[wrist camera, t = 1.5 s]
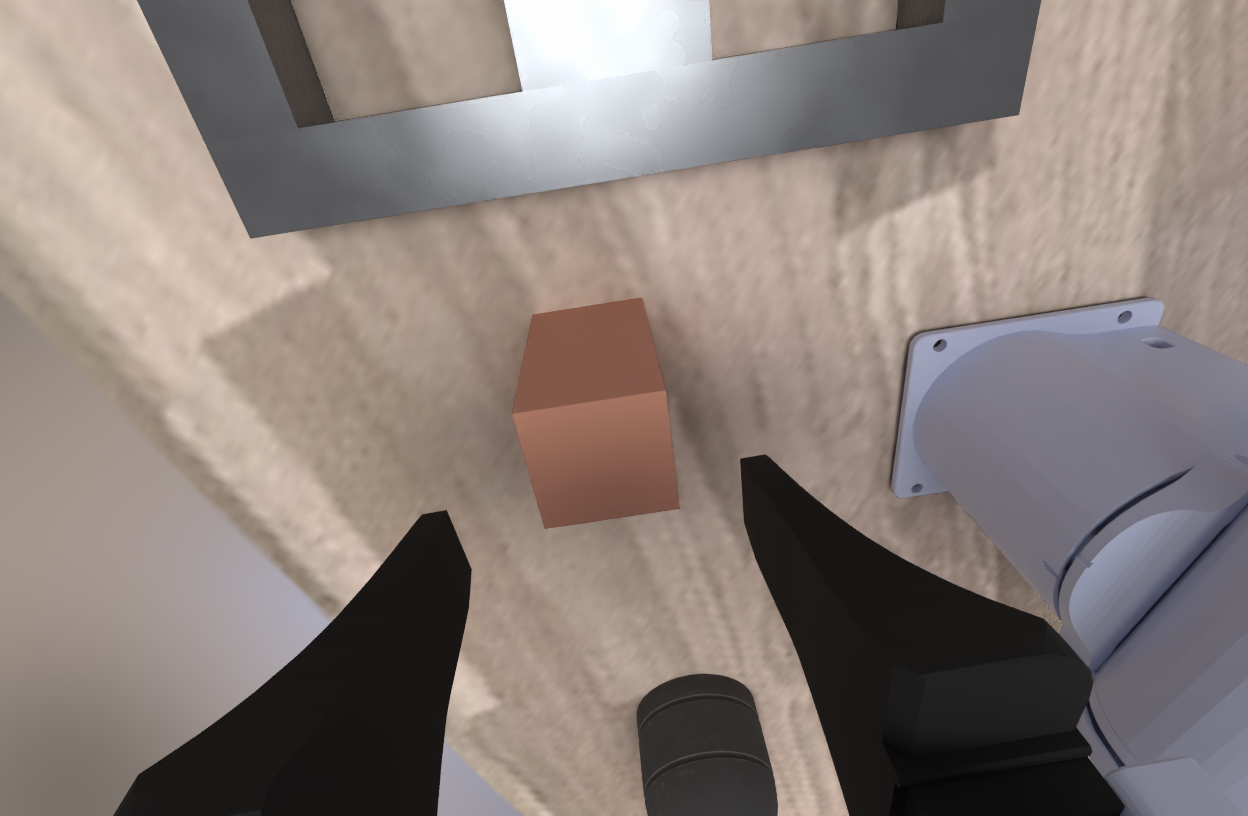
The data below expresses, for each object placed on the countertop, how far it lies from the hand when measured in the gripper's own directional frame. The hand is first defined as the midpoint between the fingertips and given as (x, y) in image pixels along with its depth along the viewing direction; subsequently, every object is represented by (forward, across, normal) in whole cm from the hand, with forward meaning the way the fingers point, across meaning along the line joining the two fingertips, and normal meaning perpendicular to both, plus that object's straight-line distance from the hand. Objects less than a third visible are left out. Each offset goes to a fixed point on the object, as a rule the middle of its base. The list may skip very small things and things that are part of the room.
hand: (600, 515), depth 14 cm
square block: (+9, 0, 0) cm, 9 cm away
